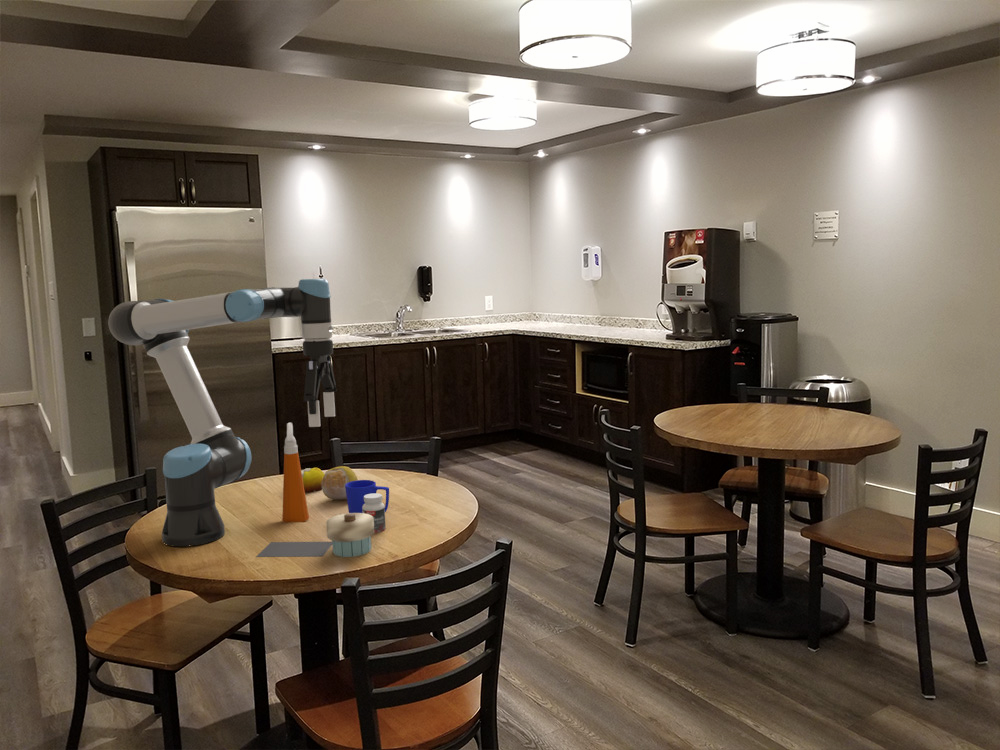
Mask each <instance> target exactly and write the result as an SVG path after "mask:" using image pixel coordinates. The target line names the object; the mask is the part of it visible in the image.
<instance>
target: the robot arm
mask: <svg viewBox="0 0 1000 750" xmlns="http://www.w3.org/2000/svg"><path fill="white" fill-rule="evenodd" d="M329 285H330V284H329V281H328V280H327V279H326V278H305V279H303V278H302V279H299V280H298V285H297V286H295V287H273V286H272V287H265V288H250V289H249V288H242V289H238V290H234V291H231V292H230V291H228V292H223V293H217V294H210V295H204V296H198V297H191V298H186V299H180V300H178V299H177V300H172V299H165V298H155V299H145V300H130V301H129V300H127V301H124V302H122V303H119V304H118V305H116V306H115V307H114V308H113V310H111V312H110V314H109V317H108V320H107V321H108V322H107V323H108V328H109V332H110V333H111V335H112V336H113V337H114V338H115V339H116V340H117V341H119V342H120V343H123V344H124V345H128V346H141V345H142V346H143V348H144V350H145V353H146V354H147V356H148V357H153V358H154V359H156V362H157V364H158V366H159V368H160V370H161V373H162V375H163V377H164V380H165V381H166V384H167V385H168V388H169V390H170V393H171V395H172V397H173V399H174V401H175V403H176V406H177V407H178V410H179V412H180V414H181V416H182V419H183V421H184V423H185V425H186V427H187V429H188V432H189V434H190V436H191V442H190V443H189V444H186V445H184V446H183V445H181V446H178V447H174V448H172V449H171V450H169V451H168V452H166V453H165V454H164V456H163V458H162V474H163V481H164V491H165V501H166V503H165V504H166V515H165V520H164V522H163V527H162V530H161V538H162V539H161V542H162V541H163V542H162V544H164V543H165V544H167V545H166V546H168V545H173V546H172V547H174V546H186V547H190V546H189V545H195V546H199V545H198V544H201V545H204V544H203V543H205V544H208V542H209V543H211V541H212V542H214V540H215V541H216V540H217V541H218V540H219V539H221V538H222V537H223V536H224V535H225V533H226V530H225V529H226V528H225V524H224V521H223V518H222V517H221V514H220V512H219V510H218V508H217V506H216V496H215V494H216V493H215V489H219V488H221V487H223V486H225V485H228V484H231V483H234V482H236V481H237V480H239V479H240V478H241V477H243V476H245V474H247V473H248V471H249V469H250V467H251V463H252V452H251V448H250V447H249V445H248V443H247V442H246V441H245V440H244V439H241V437H238V436H235V434H234V432H233V430H232V428H231V427H229V426H226V425H224V424H223V422H222V420H221V417H220V415H219V413H218V411H217V409H216V407H215V405H214V402H213V400H212V398H211V396H210V394H209V391H208V389H207V386H206V385H205V383H204V381H203V379H202V377H201V376H202V375H201V373H200V372H199V370H198V367H197V365H196V363H195V361H194V359H193V357H192V354H191V352H190V350H189V348H188V344H189V342H190V340H191V339H190V335H189V331H190V330H195V329H202V328H203V329H204V328H208V327H214V326H215V327H216V326H223V325H229V324H235V323H244V322H245V323H247V322H252V321H257V320H258V321H259V320H267V319H273V318H274V319H275V318H277V319H278V318H286V317H287V318H289V317H291V318H292V317H297V318H298V317H300V322H301V325H300V326H301V339H303V342H302V354H303V355H304V356H305V357H310V360H307V361H306V362H305V366H306V367H305V370H306V371H305V379H304V380H305V381H304V382H305V383H304V393H303V398H302V399H303V402H307V415H308V427H309V428H316V427H317V428H318V427H321V412H320V410H321V409H320V400H318V398H319V392H320V385H322V388H323V391H324V392H322V394H323V395H322V396H323V397H322V398H323V409H324V410H323V411H324V417H325V418H331V417H336V405H335V392H337V391H338V387H337V384H336V379H335V374H334V370H333V364H332V357H331V355H333V354H334V342H333V340H332V339H331V338H333V330H334V328H335V327H334V326H333V325H332V313H331V311H332V310H331V297H332V296H331V292H330V286H329ZM165 544H164V545H165Z"/></svg>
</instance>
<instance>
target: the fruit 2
mask: <svg viewBox="0 0 1000 750" xmlns="http://www.w3.org/2000/svg"><path fill="white" fill-rule="evenodd" d="M357 480H358V476H357V474H356V472H355V471H354V470H353V469H352V468H350V467H349V466H345V465H344V466H343V465H341V466H336V467H333V468H330V469H328V470H327V471H326V472H325V473H324V477H323V480H322V489H321V490H322V493H323V494H324V495H325V497H326V498H328V499H330V500H332V501H338V500H340V501H347V496H346V489H345V485H346V484H347V483H349V482H352V481H357Z"/></svg>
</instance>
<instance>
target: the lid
mask: <svg viewBox="0 0 1000 750" xmlns="http://www.w3.org/2000/svg"><path fill="white" fill-rule="evenodd" d="M325 524H326V537H327V539H329V540H330V541H332V540H333V541H338V542H351V541H358V540H362V539H366V538H368V537H370V536H371V537H372V536H373V535H374V534H375V533H374V518H373V516H371V515H369V514H365V513H349V512H348V513H342V514H338V515H337V514H336V515H335V516H332V517H329V518H328V519H327V520H326V523H325Z"/></svg>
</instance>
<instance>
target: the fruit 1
mask: <svg viewBox="0 0 1000 750" xmlns="http://www.w3.org/2000/svg"><path fill="white" fill-rule="evenodd" d="M301 473H302V479H303V485H304V491H305V494H308V493H315V492H318V491H321V490H322V480H323V477H324V475H325V473H324V472H323V470H321V469H320V468H318V467H313V468H310V467H309V468H306V467H305V469H301Z"/></svg>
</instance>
